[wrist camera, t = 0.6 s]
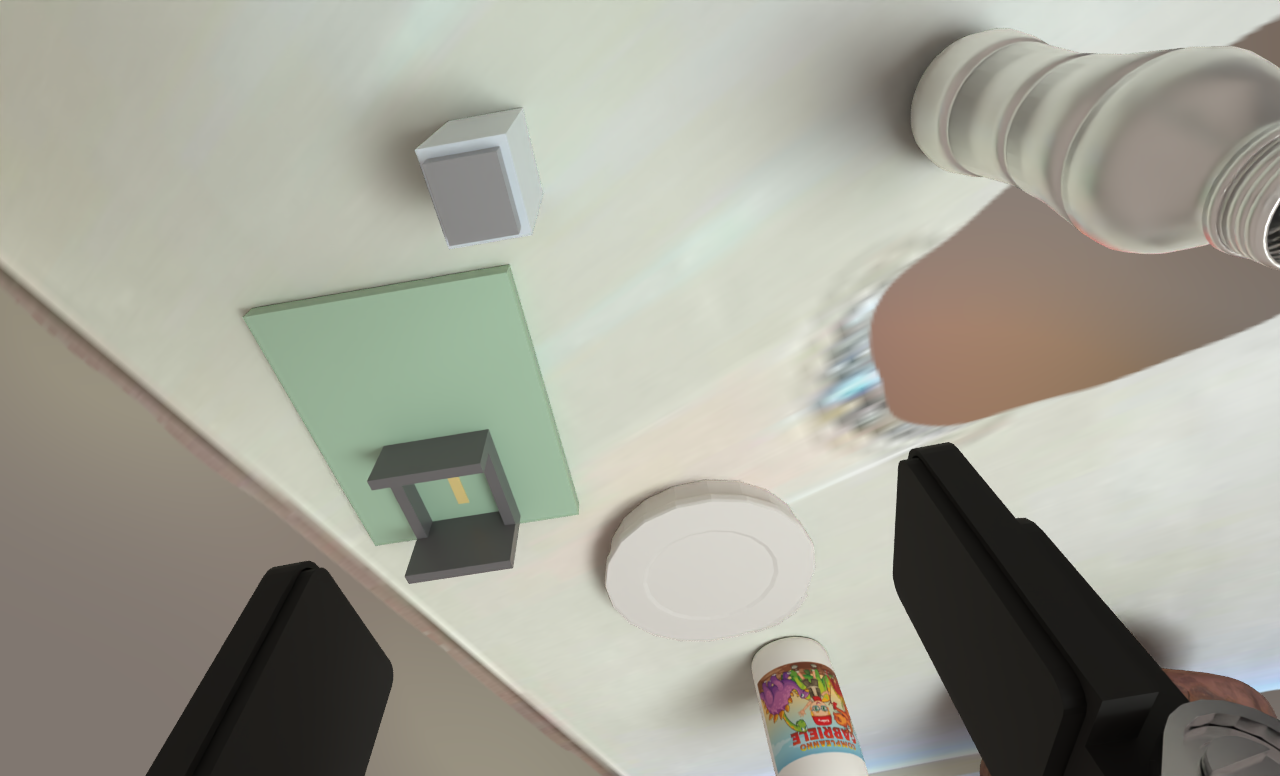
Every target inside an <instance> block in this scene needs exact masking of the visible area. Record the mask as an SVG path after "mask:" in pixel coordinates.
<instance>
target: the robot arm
mask: <svg viewBox="0 0 1280 776" xmlns="http://www.w3.org/2000/svg"><path fill="white" fill-rule="evenodd" d="M893 580H894V585H895V588H896V591H897V594H898V596H899V598H900V600H901V602H902V604H903V606H904V608H905V610H906V612H907V614H908V616H909V618H910V620H911V622H912V623H913V625H914V627H915V629H916V631H917V633H918V635H919V637H920V639H921V641H922V643H923V645H924V647H925V649H926V651H927V652H928V654H929V656H930V658H931V660H932V662H933V664H934V666H935V668H936V670H937V672H938V674H939V676H940V678H941V680H942V682H943V683H944V685H945V687H946V689H947V691H948V693H949V695H950V697H951V699H952V701H953V703H954V705H955V707H956V709H957V711H958V713H959V714H960V716H961V718H962V720H963V722H964V724H965V726H966V728H967V730H968V732H969V734H970V736H971V738H972V740H973V742H974V744H975V745H976V747H977V749H978V751H979V753H980V755H981V757H982V759H983V761H984V763H985V765H986V767H987V769H988V771H989V773H990V775H991V776H1280V720H1278V719H1276V718H1274V717H1272V716H1270V715H1268V714H1266V713H1263V712H1261V711H1259V710H1257V709H1255V708H1252V707H1248V706H1244V705H1240V704H1237V703H1233V702H1229V701H1224V700H1204V699H1201V700H1197V701H1193V702H1190V701H1189V700H1188V699H1187V698H1186V697H1185V696H1184V694H1183V693H1182V692H1181V691H1180V690H1179V689H1178V687H1177V686H1176V685H1175V684H1174V683H1173V682H1172V680H1171V679H1170V678H1169V677H1168V676H1167V675H1166V673H1165V672H1164V671H1163V670H1162V669H1161V668H1160V666H1159V665H1158V664H1157V663H1156V662H1155V661H1154V659H1153V658H1152V657H1151V656H1150V655H1149V654H1148V653H1147V651H1146V650H1145V649H1144V648H1143V647H1142V646H1141V644H1140V643H1139V642H1138V641H1137V640H1136V639H1135V637H1134V636H1133V635H1132V634H1131V633H1130V632H1129V630H1128V629H1127V628H1126V627H1125V626H1124V625H1123V623H1122V622H1121V621H1120V620H1119V619H1118V618H1117V616H1116V615H1115V614H1114V613H1113V612H1112V611H1111V609H1110V608H1109V607H1108V606H1107V605H1106V604H1105V603H1104V601H1103V600H1102V599H1101V598H1100V597H1099V596H1098V594H1097V593H1096V592H1095V591H1094V590H1093V589H1092V587H1091V586H1090V585H1089V584H1088V583H1087V582H1086V580H1085V579H1084V578H1083V577H1082V576H1081V575H1080V573H1079V572H1078V571H1077V570H1076V569H1075V568H1074V566H1073V565H1072V564H1071V563H1070V562H1069V561H1068V559H1067V558H1066V557H1065V556H1064V555H1063V554H1062V553H1061V551H1060V550H1059V549H1058V548H1057V547H1056V546H1055V544H1054V543H1053V542H1052V541H1051V540H1050V539H1049V537H1048V536H1047V535H1046V534H1045V533H1044V532H1043V530H1041V529H1040V528H1039V527H1038V526H1037V525H1036V524H1035V523H1034V522H1032V521H1030V520H1028V519H1026V518H1015V517H1014V516H1013V515H1012V513H1011V512H1010V511H1009V510H1008V509H1007V507H1006V506H1005V505H1004V504H1003V503H1002V501H1001V500H1000V499H999V498H998V497H997V495H996V494H995V493H994V492H993V490H992V489H991V488H990V487H989V486H988V484H987V483H986V482H985V481H984V480H983V478H982V477H981V476H980V475H979V474H978V472H977V471H976V470H975V469H974V468H973V466H972V465H971V464H970V463H969V461H968V460H967V459H966V458H965V457H964V455H963V454H962V453H961V452H960V451H959V449H958V448H957V447H956V446H955V445H954V444H952V443H950V442H947V443H942V444H936V445H931V446H925V447H920V448H915V449H911V451H910V452H909V456H908V459H907V460H902V461H900V462H899V466H898V481H897V501H896V520H895V539H894V559H893ZM392 683H393V668H392V664H391V662H390V660H389V659H388V658H387V656H386V655H385V653H384V652H383V650H382V649H381V647H380V646H379V645H378V643H377V642H376V640H375V639H374V637H373V636H372V634H371V633H370V631H369V630H368V629H367V627H366V626H365V624H364V623H363V621H362V620H361V618H360V617H359V615H358V614H357V613H356V611H355V610H354V608H353V607H352V605H351V604H350V602H349V601H348V600H347V598H346V597H345V595H344V594H343V592H342V591H341V589H340V588H339V587H338V585H337V584H336V583H335V581H334V579H333V578H332V576H331V575H330V574H329V572H328V571H327V570H326V569H324V568H319V567H318V566H317V565H316V564H315V563H314V562H311V561H304V562H299V563H294V564H288V565H283V566H277V567H273V568H271V569H270V570H268V571H267V573H266V574H265V575H264V577H263V578H262V580H261V582H260V583H259V585H258V587H257V589H256V590H255V592H254V593H253V595H252V597H251V598H250V600H249V602H248V604H247V605H246V607H245V609H244V610H243V612H242V614H241V616H240V617H239V619H238V621H237V622H236V624H235V625H234V627H233V629H232V631H231V632H230V634H229V636H228V637H227V639H226V641H225V642H224V644H223V646H222V647H221V649H220V651H219V653H218V654H217V656H216V658H215V659H214V661H213V663H212V665H211V666H210V668H209V670H208V671H207V673H206V674H205V676H204V678H203V680H202V681H201V683H200V685H199V686H198V688H197V690H196V691H195V693H194V695H193V697H192V698H191V700H190V701H189V703H188V705H187V707H186V708H185V710H184V712H183V714H182V715H181V717H180V718H179V720H178V722H177V724H176V725H175V727H174V729H173V730H172V732H171V734H170V735H169V737H168V739H167V740H166V742H165V744H164V745H163V747H162V749H161V751H160V752H159V754H158V756H157V757H156V759H155V761H154V762H153V764H152V766H151V767H150V769H149V771H148V772H147V774H146V776H365V772H366V769H367V765H368V763H369V759H370V756H371V753H372V749H373V746H374V743H375V740H376V736H377V733H378V730H379V727H380V723H381V720H382V717H383V713H384V710H385V707H386V704H387V700H388V696H389V693H390V690H391V687H392Z"/></svg>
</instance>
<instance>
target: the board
mask: <svg viewBox="0 0 1280 776" xmlns="http://www.w3.org/2000/svg"><path fill="white" fill-rule="evenodd" d="M243 319H244V320H245V322H246V324H247V326H248V327H249V329H250V331H251V332H252V334H253V336H254V338H255V339H256V341H257V343H258V345H259V346H260V348H261V350H262V351H263V353H264V355H265V357H266V358H267V360H268V362H269V363H270V365H271V367H272V369H273V370H274V372H275V374H276V375H277V377H278V379H279V381H280V382H281V384H282V386H283V388H284V389H285V391H286V393H287V394H288V396H289V398H290V400H291V401H292V403H293V405H294V406H295V408H296V410H297V412H298V413H299V415H300V417H301V419H302V420H303V422H304V424H305V425H306V427H307V429H308V431H309V432H310V434H311V436H312V437H313V439H314V441H315V443H316V444H317V446H318V448H319V449H320V451H321V453H322V455H323V456H324V458H325V460H326V462H327V463H328V465H329V467H330V468H331V470H332V472H333V474H334V475H335V477H336V479H337V480H338V482H339V484H340V486H341V487H342V489H343V491H344V493H345V494H346V496H347V498H348V499H349V501H350V503H351V505H352V506H353V508H354V510H355V511H356V513H357V515H358V517H359V518H360V520H361V522H362V523H363V525H364V527H365V529H366V530H367V532H368V534H369V536H370V537H371V539H372V541H373V542H374V544H375V546H378V545H385V544H391V543H397V542H404V541H410V540H417V538H416V536H415V534H414V532H413V530H412V528H411V526H410V525H409V523H408V521H407V519H406V517H405V515H404V513H403V511H402V509H401V507H400V505H399V503H398V502H397V500H396V498H395V496H394V494H393V492H392V490H391V488H384V489H378V490H371V488H370V486H369V484H368V483H367V480H368V478H369V476H370V474H371V472H372V469H373V467H374V465H375V463H376V461H377V459H378V457H379V455H380V452H381V450H382V448H383V446H387V445H393V444H399V443H405V442H411V441H418V440H424V439H430V438H436V437H443V436H449V435H455V434H461V433H467V432H474V431H480V430H486V429H489V431H490V434H491V437H492V439H493V442H494V445H495V448H496V450H497V453H498V456H499V458H500V461H501V464H502V466H503V469H504V472H505V475H506V477H507V480H508V483H509V485H510V488H511V491H512V493H513V496H514V499H515V502H516V504H517V507H518V510H519V512H520V515H521V517H520V523H527V522H533V521H540V520H546V519H553V518H559V517H565V516H572V515H578V514H579V502H578V499H577V495H576V492H575V488H574V485H573V481H572V478H571V475H570V471H569V468H568V464H567V461H566V457H565V454H564V450H563V447H562V444H561V440H560V437H559V433H558V430H557V426H556V423H555V420H554V416H553V413H552V409H551V406H550V402H549V399H548V395H547V392H546V389H545V385H544V382H543V378H542V375H541V371H540V368H539V365H538V361H537V358H536V354H535V351H534V347H533V344H532V340H531V337H530V334H529V330H528V327H527V323H526V320H525V316H524V313H523V309H522V306H521V303H520V299H519V296H518V292H517V289H516V285H515V282H514V279H513V275H512V272H511V268H510V265H504V266H498V267H492V268H486V269H480V270H475V271H469V272H463V273H457V274H451V275H445V276H439V277H434V278H428V279H422V280H416V281H410V282H404V283H398V284H392V285H387V286H381V287H375V288H369V289H363V290H357V291H351V292H346V293H340V294H334V295H328V296H322V297H316V298H310V299H304V300H299V301H293V302H287V303H281V304H275V305H269V306H263V307H258V308H252V309H251V310H250V311H249V312H248V313H247V314H246V315H245V316H243ZM459 478H460V481H461V483H462V485H463V488H464V490H465V492H466V495H467V497H468V499H469V503H463V504H458V501H457V499H456V497H455V495H454V492H453V490H452V488H451V486H450V483H449V481H448V479H441V480H435V481H429V482H422V483H416V484H415V486H416V488H417V491H418V493H419V495H420V497H421V499H422V501H423V503H424V505H425V507H426V509H427V511H428V513H429V515H430V517H431V519H432V521H439V520H445V519H452V518H458V517H464V516H471V515H477V514H484V513H490V512H497V511H499V509H498V507H497V504H496V502H495V499H494V497H493V494H492V492H491V489H490V487H489V484H488V482H487V479H486V477H485V474H484V473H479V474H473V475H467V476H460V477H459Z"/></svg>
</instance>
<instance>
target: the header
mask: <svg viewBox="0 0 1280 776" xmlns="http://www.w3.org/2000/svg"><path fill="white" fill-rule="evenodd" d="M479 473H484V474H485V477H486V479H487V482H488V484H489V487H490V489H491V492H492V494H493V497H494V499H495V502H496V504H497V507H498V509H499V511H497V512H490V513H484V514H477V515H471V516H464V517H458V518H452V519H445V520H439V521H432V519H431V517H430V515H429V513H428V511H427V509H426V507H425V505H424V503H423V501H422V499H421V497H420V495H419V493H418V491H417V488H416V486H415V484H416V483H422V482H429V481H435V480H441V479H448V481H449V483H450V486H451V488H452V490H453V492H454V495H455V497H456V499H457V501H458V504H463V503H469V499H468V497H467V495H466V492H465V490H464V488H463V485H462V483H461V481H460V478H459V477H460V476H467V475H473V474H479ZM367 483H368V484H369V486H370V488H371V490H378V489H384V488H391V490H392V492H393V494H394V496H395V498H396V500H397V502H398V503H399V505H400V507H401V509H402V511H403V513H404V515H405V517H406V519H407V521H408V523H409V525H410V526H411V528H412V530H413V532H414V534H415V536H416V538H417V541H416V544H415V547H414V550H413V553H412V556H411V559H410V562H409V565H408V568H407V571H406V574H405V578H406V580H407V581H408V583H409V584H411V583H418V582H425V581H431V580H438V579H444V578H451V577H457V576H464V575H471V574H477V573H484V572H490V571H497V570H503V569H510V568H513V565H514V558H515V551H516V544H517V538H518V531H519V524H520V517H521V515H520V512H519V510H518V507H517V504H516V502H515V499H514V496H513V493H512V491H511V488H510V485H509V483H508V480H507V477H506V475H505V472H504V469H503V466H502V464H501V461H500V458H499V456H498V453H497V450H496V448H495V445H494V442H493V439H492V437H491V434H490V431H489V429H486V430H480V431H474V432H467V433H461V434H455V435H449V436H443V437H436V438H430V439H424V440H418V441H411V442H405V443H399V444H393V445H387V446H383V448H382V450H381V452H380V455H379V457H378V459H377V461H376V463H375V465H374V467H373V469H372V472H371V474H370V476H369V478H368V480H367Z"/></svg>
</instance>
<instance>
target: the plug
mask: <svg viewBox="0 0 1280 776" xmlns="http://www.w3.org/2000/svg"><path fill="white" fill-rule="evenodd" d="M415 152H416V155H417V158H418V161H419V164H420V167H421V170H422V173H423V176H424V179H425V181H426V184H427V187H428V190H429V193H430V196H431V199H432V202H433V205H434V208H435V210H436V213H437V216H438V219H439V222H440V225H441V228H442V231H443V234H444V237H445V239H446V242H447V245H448V248H449V249H453V248H459V247H465V246H471V245H477V244H482V243H488V242H494V241H500V240H506V239H512V238H517V237H523V236H529V235H532V234H533V231H534V227H535V223H536V219H537V216H538V212H539V208H540V205H541V201H542V197H543V189H542V185H541V181H540V177H539V172H538V168H537V164H536V160H535V156H534V152H533V148H532V143H531V139H530V135H529V131H528V127H527V123H526V118H525V114H524V110H523V108H517V109H511V110H506V111H500V112H495V113H489V114H484V115H478V116H473V117H467V118H461V119H456V120H450V121H448V122H446V123H445V124H444V125H443V126H442V127H441V128H439V129H438V130H437V131H436V132H435V133H434V134H432V135H431V136H430V137H429V138H428V139H427V140H425V141H424V142H423V143H422V144H421V145H420V146H418V147H417V148H416V149H415Z"/></svg>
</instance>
